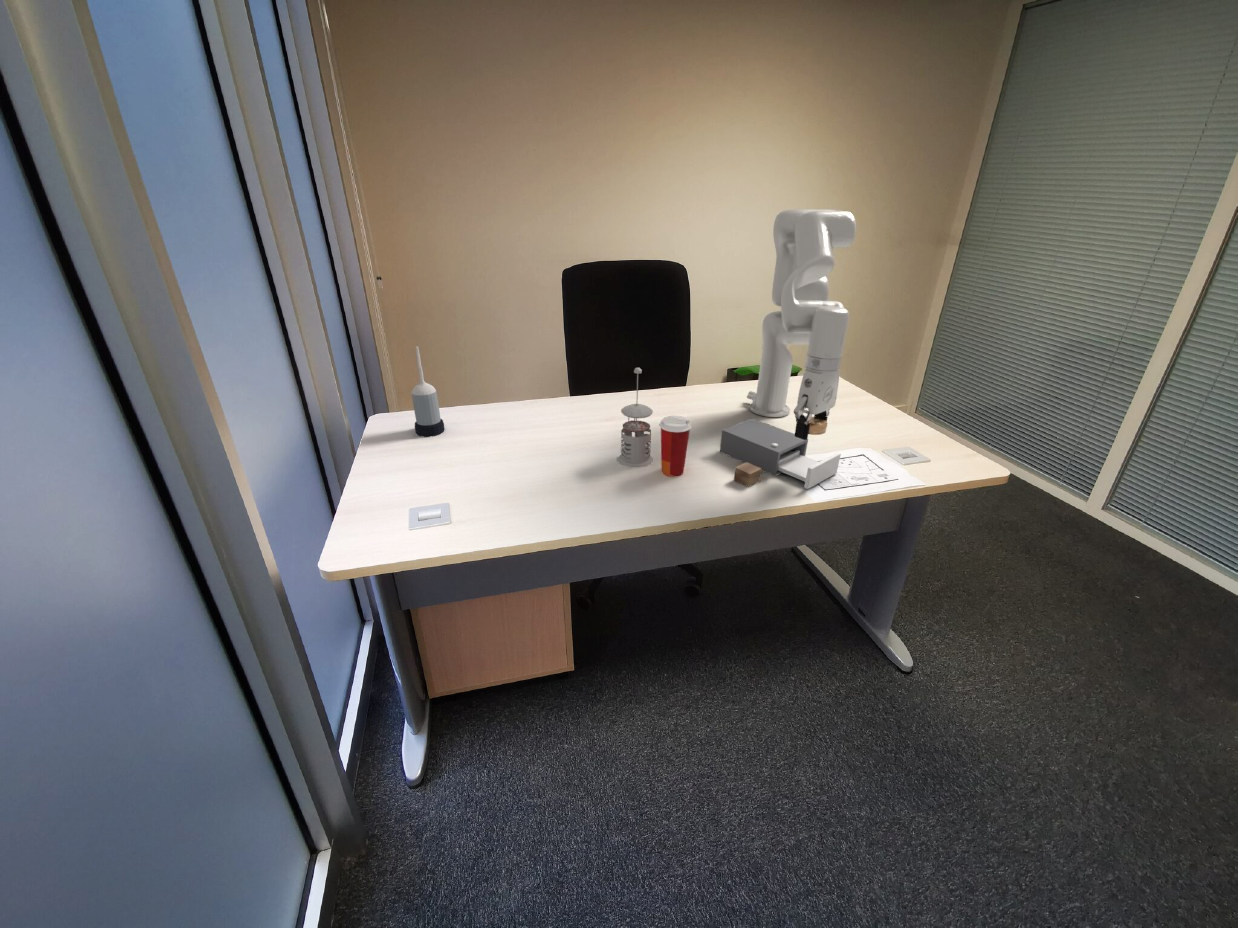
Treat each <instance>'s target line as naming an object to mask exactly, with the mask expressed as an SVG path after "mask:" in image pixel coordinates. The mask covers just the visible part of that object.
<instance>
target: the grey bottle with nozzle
mask: <svg viewBox="0 0 1238 928" xmlns="http://www.w3.org/2000/svg"><path fill="white" fill-rule="evenodd" d="M415 353H416V359H417V360H416V361H417V367H418V372H419V383H418V384H416V385H415V386H414V387H413V388H412V390H411V399H412V404H413V410H414V415H415V416H414V417H415V423H414V431H415V434H417V436H419V437H421V436H424V437H423V438H430V436H432V437H436V436H440V435H441V433H442V434H443V433H444V432H445V431H446V430H445V429H446V428H445V422H444V420H443V419H442V418H441V413H440V407H439V406H440V405H439V398H438V394H437V393H438V392H437V389H436V388H435V387H434V386H433V385H432V384H430V383H428V382H426V381H425V380H424V372H423V367H422V361H421V360H422V359H421V355H420V350H419V346H415ZM444 430H445V431H444Z"/></svg>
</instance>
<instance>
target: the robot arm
mask: <svg viewBox="0 0 1238 928" xmlns="http://www.w3.org/2000/svg"><path fill="white" fill-rule="evenodd" d="M773 223H774V224H773V235H772V236H773V243H774V248H775V253H776V259H775V265H774V266H775V267H774V273H773V281H772V282H773V283H772V288H771V289H772V290H771V300H772V303H773V304H774V305H775V306H777V307H780V311H772V312H769V313H767V314H766V315H765V316H764V318H763V321H762V329H761V330H762V346H761V347H762V348H761V357H760V364H759V371H758V372H759V374H758V380H757V388H756V392H755V391H752V390H750V391H748V394H747V395H746V398H747V399H749V400H751V401H752V402H751V403H750V404H749V410H750V411H751V412H752V413H754V414H756V415H759V416H761V417H766V418H767V417H768V418H782V417H786V416H788V415H789V414H790V412H791V409H790V407H789V406H788V405H787V398H788V392H789V387H790V380H791V374H792V367H793V361H794V360H793V355H792V352H790V350H789V349H788V347H787V345H807V351H806V356H805V362H804V363H805V364H804V372H803V375H802V378H801V383H800V388H799V391H798V397H797V402H796V403H797V404H796V406H795V408H794V409H793V414H794V417H795V424H796V423H797V424H796V425H795V430H794V434H795V437H797V438H800V439H803V440H807V439H809V438H808V437H809V434H808V433H809V427H810V424H808V423H809V421H810V418H811V416H812V417H817V418H821V419H823V420H825V421H826V422H827V423H828V417H829V415H830V410H831V409H833V408H834V407H835V405H836V403H837V396H838V389H839V381H840V366H841V363H842V362H841V361H842V356H843V350H844V346H845V340H846V337H847V331H848V325H849V320H850V311H849V310H847V309H846V308H845V306H844V304H842V303H841V302H840V301H837V300H829V296H830V295H829V294H830V283H829V279H828V278H827V276H828V275H829V274H830V273H831V272H832V271H833V269H834V267H835V257H834V256H835V255H834V249H835V248H836V249H845V248H846V249H847V248H848V247H850V246H851V245H852V243H853V242H854V240H855V237H856V234H857V223H856V218H855V216H854V214H852V213H851V212H850V211H844V210H841V209H840V210H839V209H820V208H819V209H815V208H814V209H813V208H812V209H811V208H793V209H791V208H790V209H786V210H785V209H784V210H782V211H780V212H779V213H778V214H777V215H776V217H775V219H774V222H773ZM804 414H807V415H804ZM813 415H814V416H813ZM805 416H807V417H806V418H805Z"/></svg>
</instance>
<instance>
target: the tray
mask: <svg viewBox="0 0 1238 928" xmlns="http://www.w3.org/2000/svg"><path fill="white" fill-rule="evenodd" d="M840 459H841V453H840V452H836V453H833V454H831V455H830V456H828V457H825V458H824V459H821V460H820V461H818V460H815V459H812V458H810V457H808V456H806V455H805V456H803V455H800V451H799V450H796V451H794V452H793V451H790V450H789V451H787V452H785V453H783V454H781V455H780V459H779V465H778V470H779V471H781V472H782V473H783V474H786V475H788V476H791V477H793V478H795V479H798V480H800V481H803V482H804V487H803V488H805V489H806V490H809V489H811V488H813V487H814V486H817V484H820V483H822V482H823V481H825V480H828V479H829V478H830V477H832V476H834V475H836V474H837V472H838V468H839V464H840Z"/></svg>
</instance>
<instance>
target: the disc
mask: <svg viewBox="0 0 1238 928" xmlns="http://www.w3.org/2000/svg"><path fill="white" fill-rule="evenodd" d="M804 416H805V418H806V417H807V415H804ZM795 424H797V422H795ZM808 424H810V427H809V433H808V435H815V436H818V435H819V436H820V435H824V434H826V432H827V427H828V421H827V422H826V421H825V420H823V419H821V418H817V417H814V416H813V415H812V416H811V418H810V421H809V423H808Z"/></svg>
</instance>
